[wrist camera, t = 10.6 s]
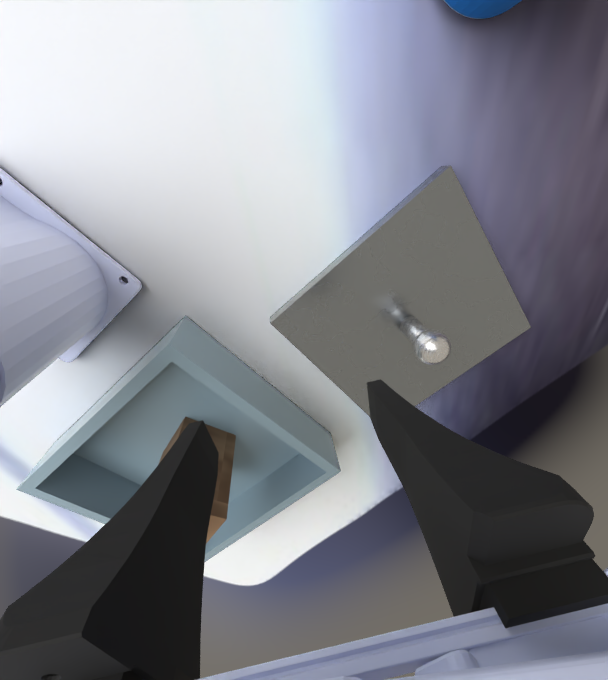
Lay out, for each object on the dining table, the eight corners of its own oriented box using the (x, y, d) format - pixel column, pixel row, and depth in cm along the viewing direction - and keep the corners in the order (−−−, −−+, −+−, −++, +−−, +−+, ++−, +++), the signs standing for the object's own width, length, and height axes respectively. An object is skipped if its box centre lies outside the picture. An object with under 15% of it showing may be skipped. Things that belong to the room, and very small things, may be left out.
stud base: (270, 317, 21) (271, 356, 16) (441, 166, 17) (505, 159, 13) (378, 420, 26) (402, 470, 22) (520, 321, 23) (584, 356, 19)
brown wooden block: (162, 452, 24) (128, 542, 18) (185, 416, 23) (156, 501, 17) (212, 467, 26) (196, 555, 20) (235, 435, 24) (226, 519, 18)
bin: (53, 443, 23) (16, 489, 20) (185, 315, 20) (168, 343, 16) (210, 518, 30) (203, 562, 27) (330, 433, 27) (340, 471, 23)
